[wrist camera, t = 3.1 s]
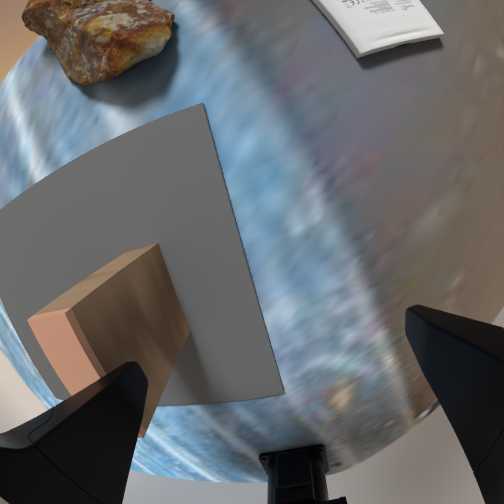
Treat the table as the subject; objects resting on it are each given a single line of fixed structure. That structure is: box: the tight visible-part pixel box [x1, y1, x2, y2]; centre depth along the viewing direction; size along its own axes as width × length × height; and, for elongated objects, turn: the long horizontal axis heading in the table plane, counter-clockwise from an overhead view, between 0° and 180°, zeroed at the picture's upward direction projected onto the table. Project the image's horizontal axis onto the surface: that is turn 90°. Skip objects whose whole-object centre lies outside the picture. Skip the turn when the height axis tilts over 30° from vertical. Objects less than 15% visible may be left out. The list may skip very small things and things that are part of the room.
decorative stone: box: [22, 0, 175, 85], centre depth 10 cm, size 10×4×15 cm
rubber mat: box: [0, 103, 284, 406], centre depth 18 cm, size 20×25×1 cm
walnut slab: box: [27, 243, 191, 438], centre depth 12 cm, size 6×2×9 cm, turn 15°
